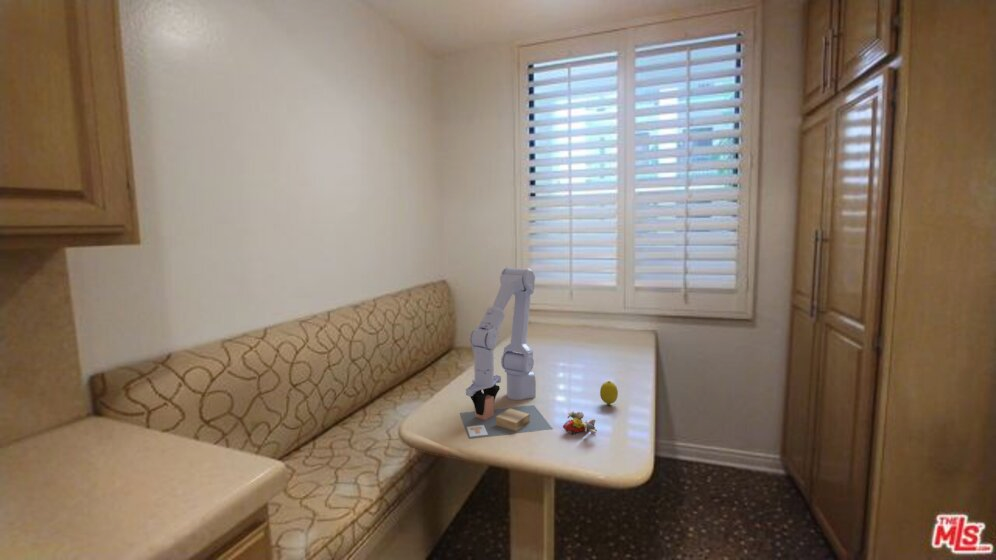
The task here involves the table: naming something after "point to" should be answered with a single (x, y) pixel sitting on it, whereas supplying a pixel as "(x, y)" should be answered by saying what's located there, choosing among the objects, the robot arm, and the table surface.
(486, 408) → the pillar
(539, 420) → the board
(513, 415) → the slab
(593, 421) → the toy airplane
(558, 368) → the table surface
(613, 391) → the lemon
